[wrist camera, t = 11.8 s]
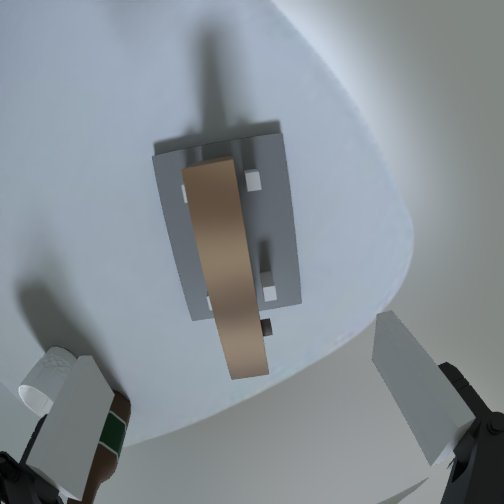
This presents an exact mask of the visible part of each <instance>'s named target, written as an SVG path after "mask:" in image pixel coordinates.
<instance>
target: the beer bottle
mask: <svg viewBox="0 0 504 504" xmlns="http://www.w3.org/2000/svg"><path fill="white" fill-rule="evenodd" d="M112 391H113V393H114V394H115V395H114V398H113V401H112V404H111V406H110V409H109V412H108V415H107V418H106V421H105V424H104V427H103V430H102V433H101V436H100V439H99V442H98V445H97V448H96V451H95V454H94V458H93V461H92V464H91V468H90V471H89V475H88V478H87V482H86V485H85V489H84V493H83V497H82V501H79V500H75V499H72V498H69V497H68V500H67V504H93V502H94V498H95V496H96V492H97V490H98V488H99V486H100V484H101V483H103V482H104V481H106V480H107V479H109V478H110V477H111V476H112V474H113V473H114V472H115V470H116V467H117V464H118V461H119V457H120V453H121V449H122V445H123V441H124V438H125V434H126V430H127V427H128V423H129V419H130V414H131V404H130V402H129V401H128V400H127V399H126V398H125V397H124V396H123V395H121V394H120V393H119V392H117V391H114V390H112Z"/></svg>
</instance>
